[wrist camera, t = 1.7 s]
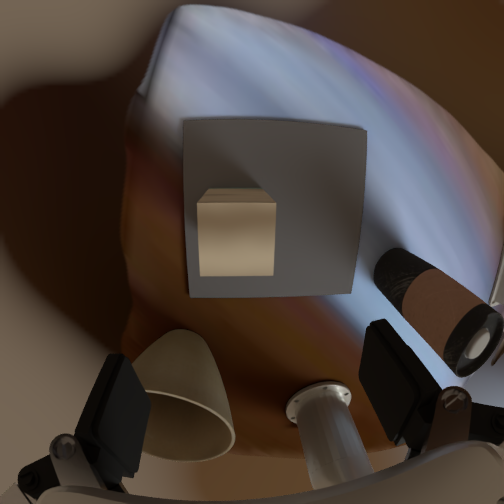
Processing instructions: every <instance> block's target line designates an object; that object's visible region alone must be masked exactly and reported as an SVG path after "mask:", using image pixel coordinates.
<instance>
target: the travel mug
mask: <svg viewBox="0 0 504 504" xmlns="http://www.w3.org/2000/svg"><path fill="white" fill-rule="evenodd" d="M374 281H375V284H376V286H377V288H378V289H379V290H380V291H381V292H382V294H383V295H384V296H385V297H386V298H387V299H388V300H389V301H390V302H391V304H392V305H393V306H394V307H395V308H396V309H397V310H398V312H399V313H400V314H401V315H402V316H403V317H404V318H405V320H406V321H407V322H408V323H409V324H410V325H411V326H412V327H413V328H414V329H415V330H416V331H417V332H418V333H419V334H420V336H421V337H422V338H423V339H424V340H425V341H426V342H427V343H428V344H429V345H430V346H431V348H432V349H433V350H434V351H435V352H436V353H437V354H438V355H439V356H440V358H441V359H442V360H443V361H444V362H445V363H446V364H447V366H448V367H449V368H450V369H451V370H452V371H453V372H454V374H455V375H456V376H458V377H461V378H462V377H466V376H469V375H470V374H472V373H474V372H475V371H476V370H477V369H479V368H480V367H481V366H482V365H483V364H484V363H485V362H486V361H487V359H488V358H489V357H490V356H491V354H492V353H493V351H494V350H495V348H496V346H497V345H498V343H499V340H500V338H501V336H502V333H503V329H504V319H503V317H502V315H501V314H500V313H498V312H497V311H495V310H494V309H493V308H492V307H490V306H489V305H488V304H486V303H485V302H484V301H483V300H481V299H480V298H479V297H477V296H476V295H475V294H473V293H472V292H471V291H469V290H468V289H467V288H465V287H464V286H462V285H461V284H460V283H458V282H457V281H455V280H454V279H453V278H451V277H450V276H448V275H447V274H445V273H444V272H443V271H441V270H439V269H438V268H436V267H435V266H433V265H431V264H429V263H428V262H426V261H424V260H423V259H421V258H419V257H417V256H416V255H414V254H412V253H410V252H408V251H406V250H404V249H401V248H395V249H391V250H389V251H387V252H386V253H385V254H384V255H383V256H382V257H381V258H380V259H379V261H378V262H377V264H376V267H375V270H374Z"/></svg>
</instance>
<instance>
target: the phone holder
mask: <svg viewBox="0 0 504 504" xmlns="http://www.w3.org/2000/svg"><path fill="white" fill-rule="evenodd" d="M498 304H502V305H504V245H503V250H502V255H501V259H500V263H499V268H498V272H497V275H496V279H495V283H494V286H493V290H492V293H491V296H490V299H489V305H490V306H491V307H492V306H495V305H498Z"/></svg>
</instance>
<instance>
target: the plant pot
mask: <svg viewBox="0 0 504 504" xmlns="http://www.w3.org/2000/svg"><path fill="white" fill-rule="evenodd" d="M132 366H133V368H134V370H135V372H136V374H137V376H138V378H139V380H140V382H141V384H142V386H143V387H144V389H145V391H146V393H147V395H148V397H149V398H150V401H151V410H150V414H149V419H148V423H147V428H146V433H145V438H144V443H143V448H142V452H143V453H145V454H148V455H151V456H154V457H157V458H161V459H165V460H171V461H177V462H199V461H206V460H210V459H214V458H217V457H219V456H221V455H223V454H225V453H226V452H228V451H229V450H230V449H231V447H232V446H233V444H234V442H235V433H234V428H233V423H232V418H231V413H230V408H229V404H228V400H227V396H226V392H225V388H224V385H223V382H222V379H221V376H220V373H219V370H218V368H217V365H216V362H215V360H214V358H213V356H212V353H211V351H210V349H209V347H208V345H207V344H206V342H205V340H204V339H203V338H202V337H201V336H199V335H198V334H196V333H195V332H192V331H189V330H185V329H176V330H172V331H169V332H168V333H166V334H164V335H163V336H162V337H160V338H159V339H158V340H156V341H155V342H154V343H153V344H152V345H150V346H149V347H148V348H147V349H146V350H145V351H144V352H143V353H142V354H141V355H140V356H139V357H138V358H137V359H136V360H135V361H134V362H133V363H132Z"/></svg>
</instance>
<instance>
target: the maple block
mask: <svg viewBox="0 0 504 504" xmlns="http://www.w3.org/2000/svg"><path fill="white" fill-rule="evenodd" d="M197 221H198V246H199V266H200V276H273V271H274V250H275V226H276V202H275V201H274V200H273V199H272V198H271V197H270V196H269V195H268V194H267V193H266V192H265V191H264V190H263V189H262V188H209V189H208V190H207V191H206V193H205V194H204V195H203V196H202V198H201V199H200V200H199V201H198V202H197Z"/></svg>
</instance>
